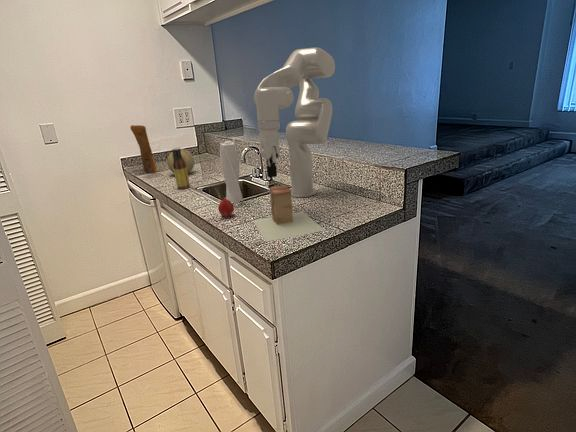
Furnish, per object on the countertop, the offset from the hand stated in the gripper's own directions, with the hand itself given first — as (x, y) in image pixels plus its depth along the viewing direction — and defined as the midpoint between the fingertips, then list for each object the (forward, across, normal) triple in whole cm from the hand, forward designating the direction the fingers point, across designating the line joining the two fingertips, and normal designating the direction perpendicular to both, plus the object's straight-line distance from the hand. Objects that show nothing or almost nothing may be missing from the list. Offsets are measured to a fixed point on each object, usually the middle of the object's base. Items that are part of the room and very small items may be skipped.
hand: (272, 176), depth 132 cm
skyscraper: (+15, -22, -11) cm, 29 cm away
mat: (+15, +13, +1) cm, 20 cm away
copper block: (+15, +8, +1) cm, 17 cm away
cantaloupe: (+14, -88, -30) cm, 94 cm away
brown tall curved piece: (+14, -108, -50) cm, 120 cm away
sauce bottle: (+15, -58, -31) cm, 68 cm away
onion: (+15, -6, -17) cm, 24 cm away
